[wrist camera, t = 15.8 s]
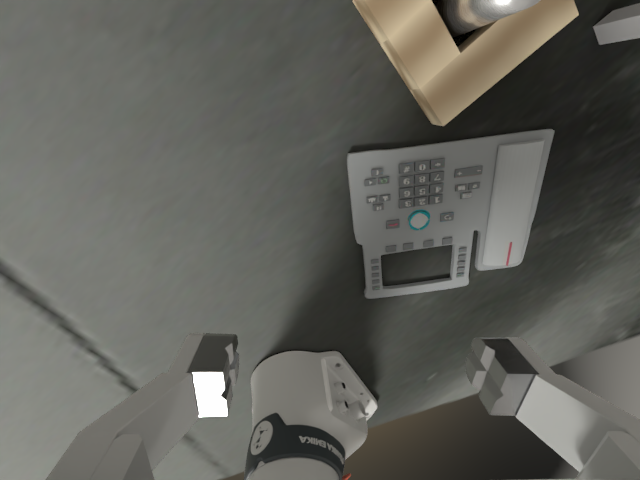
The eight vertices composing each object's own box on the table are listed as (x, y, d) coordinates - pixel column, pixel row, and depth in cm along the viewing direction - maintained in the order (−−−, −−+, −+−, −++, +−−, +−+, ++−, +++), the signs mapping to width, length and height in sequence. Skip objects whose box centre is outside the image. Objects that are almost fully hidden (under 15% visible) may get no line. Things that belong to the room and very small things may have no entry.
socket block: (552, 22, 29) (578, 14, 26) (431, 124, 32) (443, 126, 30) (488, -140, 24) (512, -170, 21) (352, 1, 27) (358, -10, 24)
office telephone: (565, 127, 31) (530, 283, 40) (547, 125, 34) (517, 273, 42) (349, 156, 31) (360, 307, 40) (345, 152, 34) (356, 295, 42)
